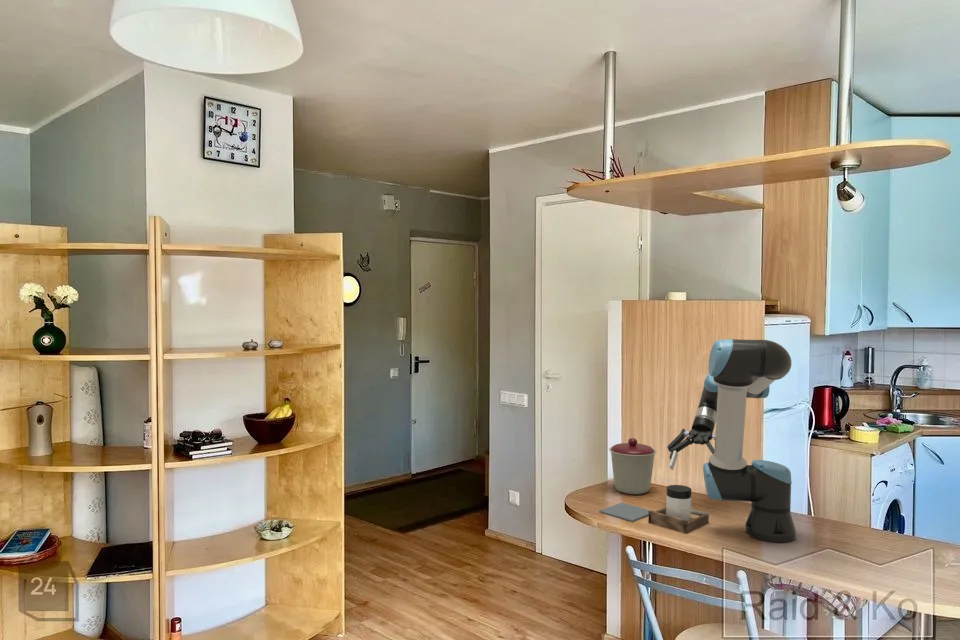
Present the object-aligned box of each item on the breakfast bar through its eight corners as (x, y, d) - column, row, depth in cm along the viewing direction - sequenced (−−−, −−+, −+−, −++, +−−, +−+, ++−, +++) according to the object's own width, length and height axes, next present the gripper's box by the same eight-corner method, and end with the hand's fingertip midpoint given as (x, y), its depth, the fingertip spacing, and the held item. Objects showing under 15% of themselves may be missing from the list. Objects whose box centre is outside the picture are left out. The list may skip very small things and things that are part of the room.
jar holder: (709, 522, 226) (709, 511, 226) (685, 533, 215) (686, 521, 215) (672, 512, 236) (672, 501, 236) (648, 522, 226) (648, 511, 225)
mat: (655, 513, 236) (655, 511, 236) (632, 522, 226) (632, 520, 226) (622, 504, 246) (622, 502, 246) (599, 512, 236) (599, 510, 236)
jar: (671, 527, 221) (671, 492, 221) (661, 519, 229) (661, 485, 229) (696, 526, 222) (697, 491, 222) (685, 518, 230) (686, 484, 230)
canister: (638, 500, 250) (639, 445, 249) (599, 490, 263) (600, 437, 263) (664, 491, 262) (665, 438, 261) (626, 482, 275) (627, 431, 275)
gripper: (741, 432, 240) (728, 482, 229) (674, 424, 255) (658, 470, 243) (737, 419, 236) (723, 470, 224) (669, 412, 250) (653, 459, 239)
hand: (689, 470), depth 234 cm, fingers open, 13 cm apart
